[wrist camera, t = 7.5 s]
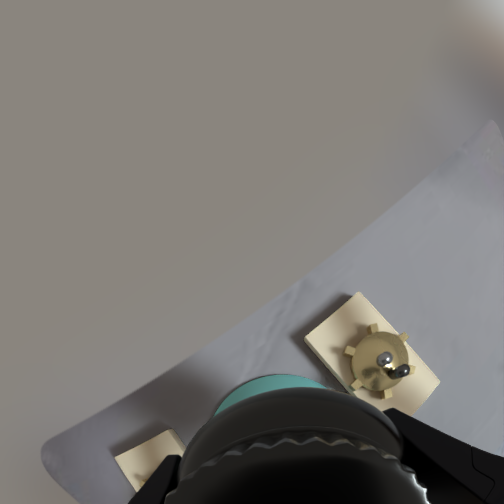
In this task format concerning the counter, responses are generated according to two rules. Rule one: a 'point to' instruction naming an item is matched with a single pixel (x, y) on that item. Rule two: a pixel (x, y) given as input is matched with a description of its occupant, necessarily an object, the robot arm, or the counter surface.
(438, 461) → the robot arm
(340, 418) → the supplement bottle
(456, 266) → the counter surface
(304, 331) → the counter surface
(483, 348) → the counter surface
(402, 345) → the brass gears
